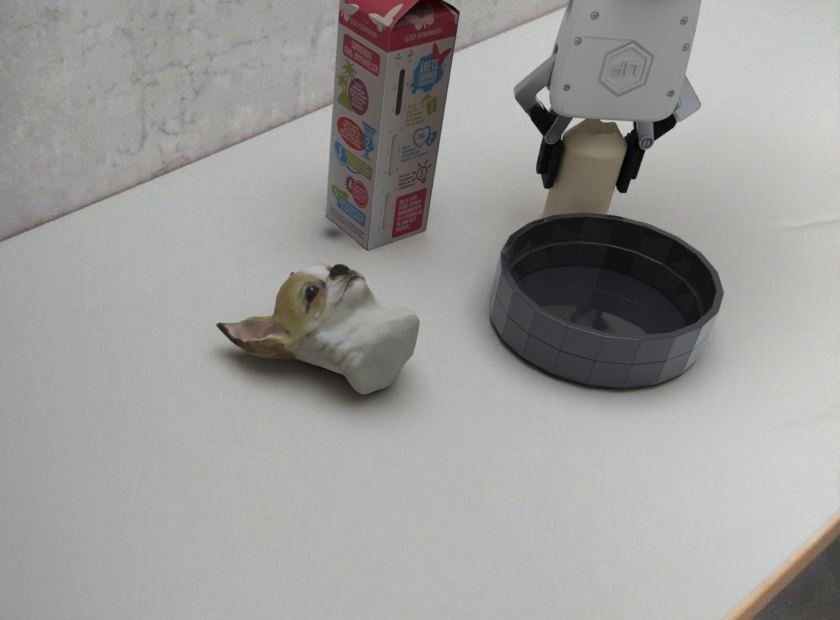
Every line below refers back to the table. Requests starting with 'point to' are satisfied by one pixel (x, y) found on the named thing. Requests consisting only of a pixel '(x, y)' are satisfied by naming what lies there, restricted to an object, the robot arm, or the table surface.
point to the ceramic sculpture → (332, 327)
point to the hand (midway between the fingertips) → (583, 181)
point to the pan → (604, 299)
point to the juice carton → (388, 115)
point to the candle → (587, 169)
